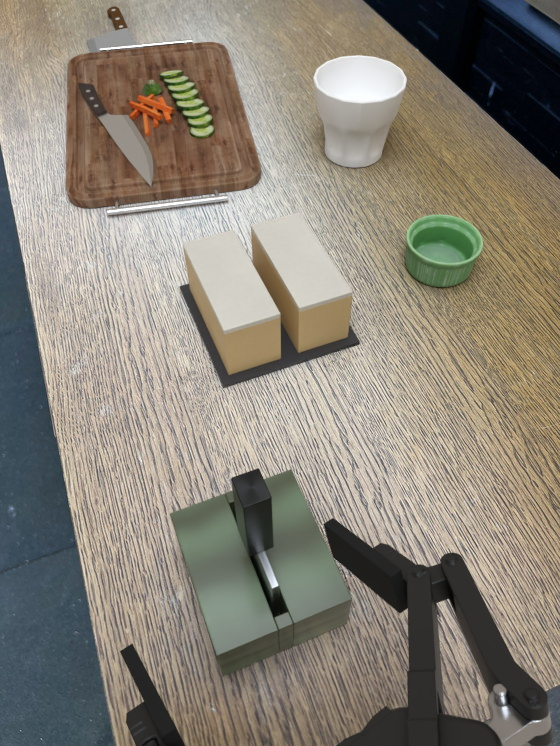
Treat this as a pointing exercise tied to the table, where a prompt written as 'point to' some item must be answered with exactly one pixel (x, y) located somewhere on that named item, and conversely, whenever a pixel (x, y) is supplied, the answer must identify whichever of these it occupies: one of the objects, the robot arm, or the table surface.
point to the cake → (266, 299)
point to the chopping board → (156, 127)
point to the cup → (357, 106)
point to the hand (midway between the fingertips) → (240, 596)
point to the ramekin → (442, 249)
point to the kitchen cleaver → (113, 33)
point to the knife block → (241, 584)
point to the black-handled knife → (257, 529)
